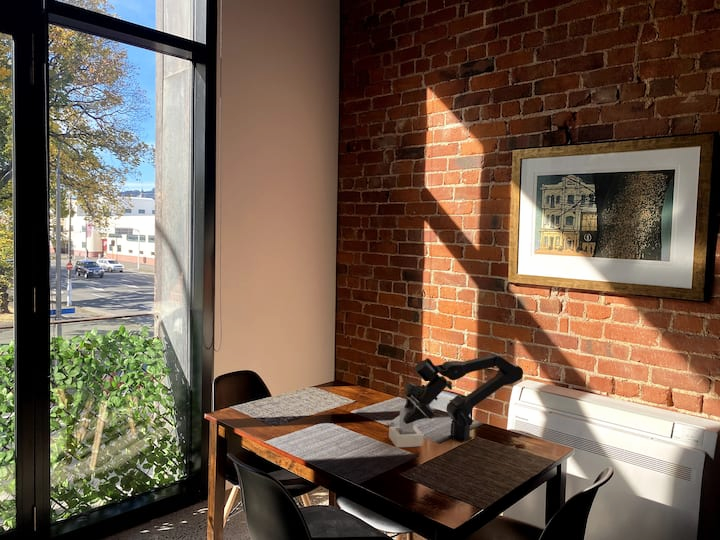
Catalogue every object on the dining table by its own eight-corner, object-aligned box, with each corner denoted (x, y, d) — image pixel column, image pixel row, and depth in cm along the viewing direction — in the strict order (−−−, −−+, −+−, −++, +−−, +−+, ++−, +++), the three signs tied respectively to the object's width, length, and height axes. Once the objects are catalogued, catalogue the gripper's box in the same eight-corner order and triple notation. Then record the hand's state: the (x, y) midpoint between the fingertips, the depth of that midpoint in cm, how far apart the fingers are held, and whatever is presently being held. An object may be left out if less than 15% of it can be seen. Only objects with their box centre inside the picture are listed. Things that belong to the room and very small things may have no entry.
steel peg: (409, 439, 216) (410, 407, 215) (412, 443, 212) (414, 411, 211) (398, 439, 215) (400, 408, 214) (402, 443, 211) (403, 411, 210)
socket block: (414, 435, 220) (414, 425, 220) (423, 445, 210) (423, 435, 210) (388, 437, 218) (389, 426, 217) (396, 447, 208) (397, 436, 208)
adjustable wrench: (393, 429, 228) (393, 424, 228) (379, 425, 231) (379, 421, 231) (421, 411, 249) (421, 407, 249) (407, 408, 253) (407, 404, 252)
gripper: (410, 368, 222) (381, 398, 220) (427, 381, 204) (395, 414, 202) (429, 387, 224) (400, 417, 223) (447, 402, 206) (416, 435, 204)
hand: (402, 420), depth 213 cm, fingers open, 6 cm apart
